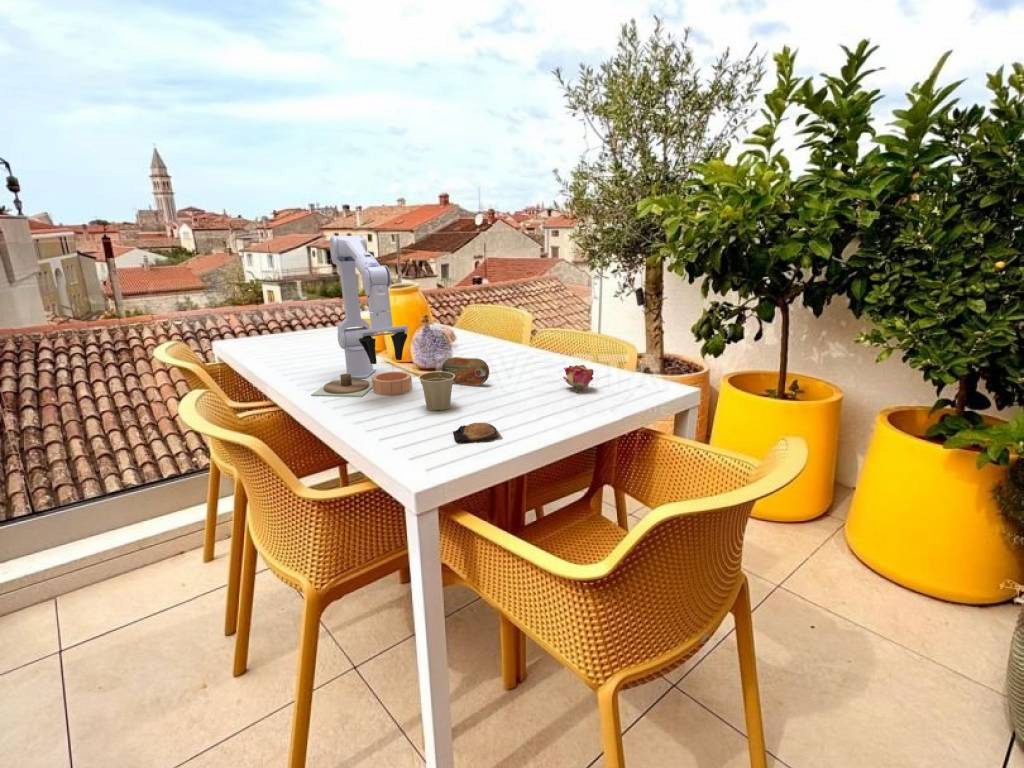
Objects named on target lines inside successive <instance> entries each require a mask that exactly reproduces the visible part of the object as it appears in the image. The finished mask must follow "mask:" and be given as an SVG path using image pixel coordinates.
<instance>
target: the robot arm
mask: <svg viewBox="0 0 1024 768" xmlns="http://www.w3.org/2000/svg"><path fill="white" fill-rule="evenodd" d="M329 249H330V250H329V251H330V259H331V261H332V264H334V265H336V266H338V271H339V277H340V284H341V285H340V286H341V293H342V301H343V308H344V317H345V318H344V319H343V320H342V321H341V322H339V324H338V325H337V341H338V342H337V343H338V345H339V347H340V348H341V349H342V350H344V356H345V357H344V359H345V368H346V373H345V374H351V379H367V378H369V377H370V376H371V375H372V374H373V373H374V372H376V371H377V370H376V369H374V367H373V365H377V354H376V338H373V337H379V336H380V337H381V336H387V335H389V336H390V338H391V340H392V343H393V347H394V348H393V349H394V356H395V360H396V361H403V354H404V353H403V351H404V346H405V344H406V341H407V339H408V333H409V327H408V325H399V326H394V323H393V314H392V307H391V306H392V305H391V300H390V293H389V291H390V290H389V288H390V286H391V281H392V280H391V279H392V278H391V272H390V270H389V267H388V265H380V263H379V261H377V258H375V256H374V255H373V254H371V252H368V243H367V239H366V237H365V236H364V235H334V234H333V235H331V237H330V238H329ZM356 269H357V271H358V272H359V274H360V275H361V281H362V286H363V287H364V288H363V289H364V293H365V296H367V298H366V299H367V304H368V312H369V313H368V314H369V319H370V323H369V322H368V321H367V320H365V319H364V318H362V316H361V306H360V297H359V289H358V283H357V273H356ZM381 332H382V333H381Z"/></svg>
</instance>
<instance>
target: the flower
mask: <svg viewBox="0 0 1024 768" xmlns="http://www.w3.org/2000/svg"><path fill="white" fill-rule="evenodd" d="M563 369H564V372H565V376H562V378H563V380H564V382H566V383H567V384H568V385H569V386H571V387H572V388H574V389H575V393H576V394H578V393H579V391H580V390H582V391H584V390H587V388H589V386H592V385H594V383H592V384H590V383H591V382H592V381H593V380H594V377H593V375H594V369H593V368H587V367H586V365H584V364H581V365H577V364H576V365H571V364H570V365H569V366H568V367H567V366H566V367H563Z"/></svg>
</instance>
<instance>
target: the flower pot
mask: <svg viewBox="0 0 1024 768" xmlns="http://www.w3.org/2000/svg"><path fill="white" fill-rule="evenodd" d="M454 378H455V375H454V374H453V373H449V372H442V370H441V371H430V372H424V373H422V374H420V375H419V376H418V380H420V384H421V387H422V389H423V394H424V400H425V405H426V409H428V410H431V411H434V412H435V411H438V410H439V411H444V410H448V409H449V408H450V407H451V399H452V389H453V384H452V383H453V380H454Z"/></svg>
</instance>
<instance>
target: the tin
mask: <svg viewBox="0 0 1024 768" xmlns="http://www.w3.org/2000/svg"><path fill="white" fill-rule="evenodd" d="M441 371H442V372H449V373H453V374H454V375H455V378H454V380H453V383H452V385H458V386H470V387H479V386H482V385H483V384H485V383H486V381H488V379H489V377H490V368H489V365H488V364H487V362H486V361H485V360H483V359H481V358H477V357H476V358H475V357H461V356H454V357H450V358H447V359H446V360H445V361H444V362H443V364H442V366H441Z"/></svg>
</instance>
